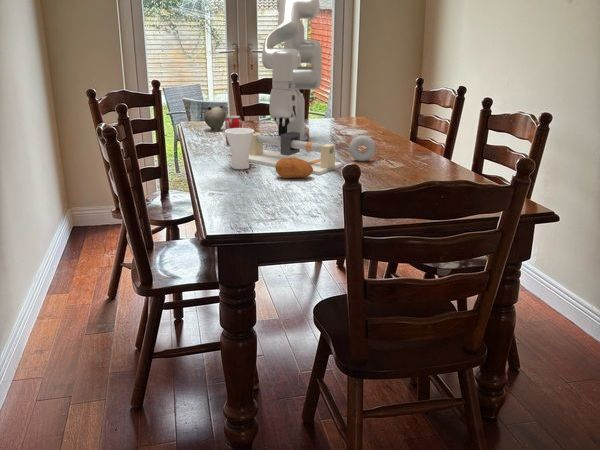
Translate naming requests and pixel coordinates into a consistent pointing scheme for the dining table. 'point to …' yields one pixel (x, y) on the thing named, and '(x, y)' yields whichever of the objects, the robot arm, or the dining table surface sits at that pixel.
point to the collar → (286, 143)
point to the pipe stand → (273, 157)
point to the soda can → (232, 123)
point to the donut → (358, 141)
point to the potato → (293, 168)
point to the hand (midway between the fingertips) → (282, 135)
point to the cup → (240, 146)
